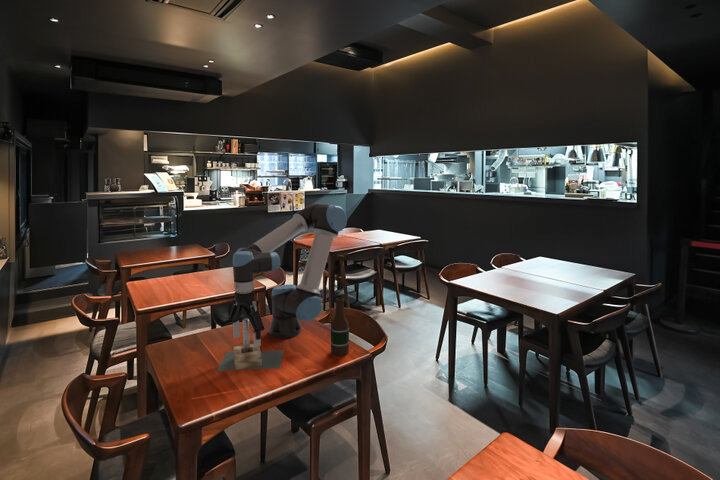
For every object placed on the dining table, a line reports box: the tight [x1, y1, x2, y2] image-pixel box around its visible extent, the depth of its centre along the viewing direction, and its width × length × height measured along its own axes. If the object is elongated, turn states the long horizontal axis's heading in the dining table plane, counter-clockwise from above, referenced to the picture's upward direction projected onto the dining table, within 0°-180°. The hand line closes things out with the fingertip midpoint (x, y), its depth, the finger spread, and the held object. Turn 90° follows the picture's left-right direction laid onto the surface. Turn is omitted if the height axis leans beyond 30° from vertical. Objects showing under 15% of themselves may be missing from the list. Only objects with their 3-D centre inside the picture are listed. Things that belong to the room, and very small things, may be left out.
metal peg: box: [242, 317, 251, 353], centre depth 158 cm, size 3×3×18 cm
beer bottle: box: [330, 297, 350, 357], centre depth 167 cm, size 8×8×24 cm
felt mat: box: [216, 349, 285, 372], centre depth 161 cm, size 24×16×1 cm, turn 95°
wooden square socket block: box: [232, 343, 262, 371], centre depth 159 cm, size 10×10×5 cm
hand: (246, 341), depth 158 cm, fingers open, 13 cm apart
